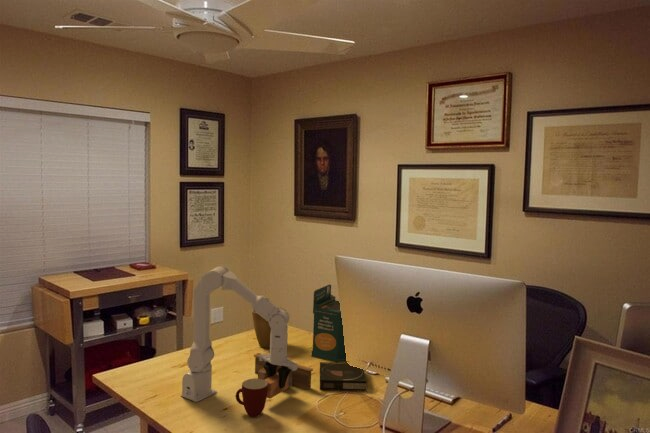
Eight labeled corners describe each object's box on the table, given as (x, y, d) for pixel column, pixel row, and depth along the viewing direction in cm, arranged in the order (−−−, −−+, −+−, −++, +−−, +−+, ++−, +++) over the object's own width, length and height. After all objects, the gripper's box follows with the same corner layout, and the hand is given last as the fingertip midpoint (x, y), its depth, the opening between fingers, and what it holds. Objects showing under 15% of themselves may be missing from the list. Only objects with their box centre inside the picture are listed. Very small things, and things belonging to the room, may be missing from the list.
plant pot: (278, 353, 207) (279, 316, 206) (245, 348, 211) (246, 312, 210) (289, 341, 222) (290, 307, 221) (258, 337, 225) (259, 303, 224)
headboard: (299, 396, 168) (299, 376, 167) (243, 378, 181) (243, 359, 180) (312, 388, 175) (313, 368, 174) (257, 371, 188) (258, 352, 187)
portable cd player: (319, 391, 173) (320, 380, 173) (319, 372, 190) (320, 362, 190) (366, 393, 174) (366, 382, 173) (361, 373, 191) (362, 363, 190)
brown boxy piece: (270, 398, 158) (270, 380, 158) (261, 395, 160) (262, 378, 160) (291, 385, 169) (292, 368, 168) (283, 383, 170) (284, 366, 170)
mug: (229, 417, 152) (230, 386, 151) (239, 405, 160) (240, 376, 159) (262, 422, 150) (263, 390, 149) (270, 410, 158) (271, 380, 157)
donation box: (328, 345, 219) (330, 283, 217) (361, 352, 212) (364, 288, 210) (311, 356, 205) (313, 290, 202) (346, 364, 198) (349, 296, 195)
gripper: (303, 347, 163) (301, 387, 164) (268, 338, 170) (267, 376, 171) (290, 354, 157) (289, 395, 158) (255, 344, 164) (254, 383, 165)
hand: (277, 385), depth 164 cm, fingers closed on brown boxy piece, 3 cm apart
